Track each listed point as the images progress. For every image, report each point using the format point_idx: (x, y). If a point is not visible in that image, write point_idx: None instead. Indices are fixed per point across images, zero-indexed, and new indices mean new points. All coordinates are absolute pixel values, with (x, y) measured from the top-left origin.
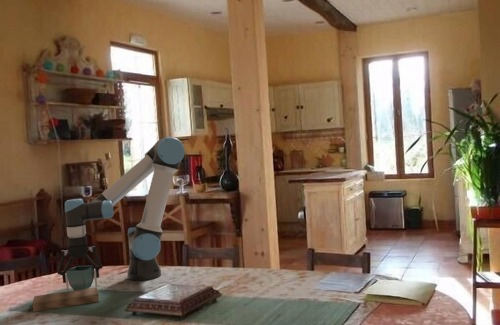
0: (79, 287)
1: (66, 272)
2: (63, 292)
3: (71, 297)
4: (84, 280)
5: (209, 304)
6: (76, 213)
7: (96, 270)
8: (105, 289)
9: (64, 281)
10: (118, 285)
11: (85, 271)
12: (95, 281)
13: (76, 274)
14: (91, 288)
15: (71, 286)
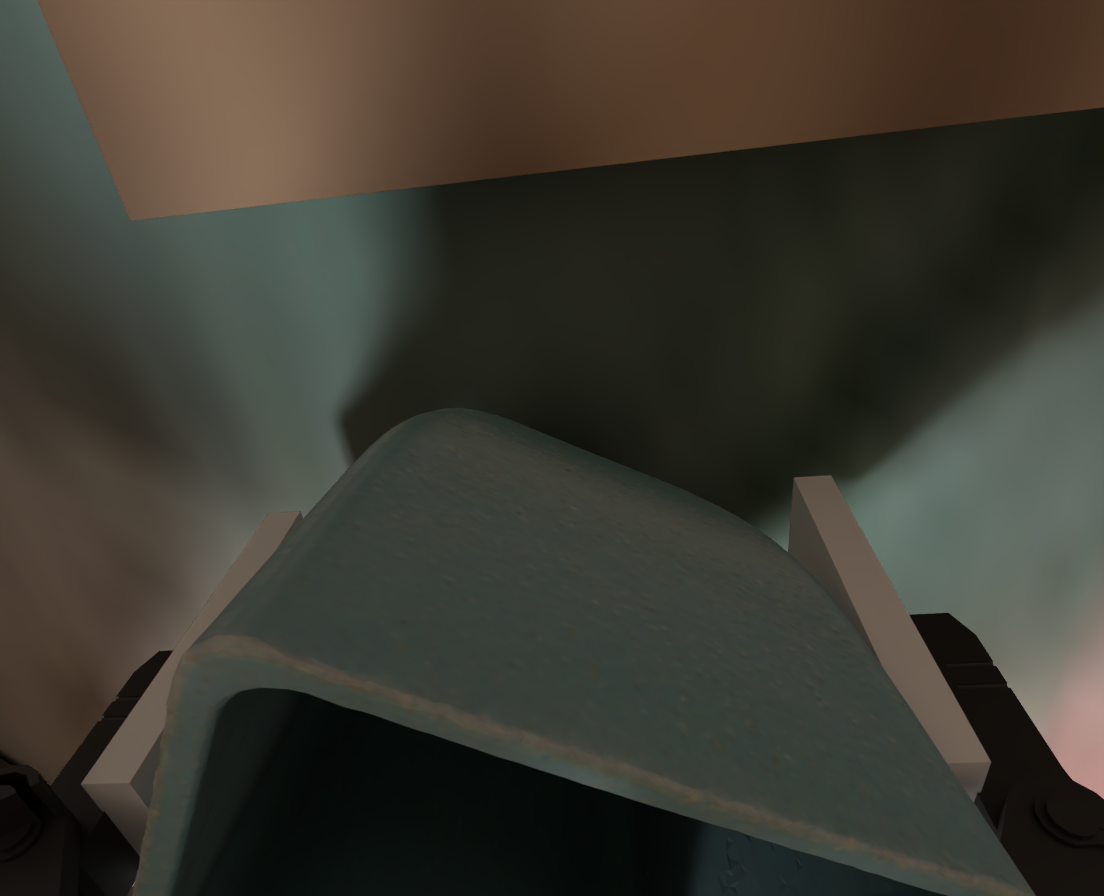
0: (576, 452)
1: (1003, 851)
2: (1009, 42)
3: None
4: (396, 442)
5: None
6: None
7: (27, 780)
8: (187, 486)
9: (939, 642)
10: (61, 608)
11: (210, 634)
12: (251, 577)
13: (619, 649)
14: (232, 136)
15: (748, 523)
